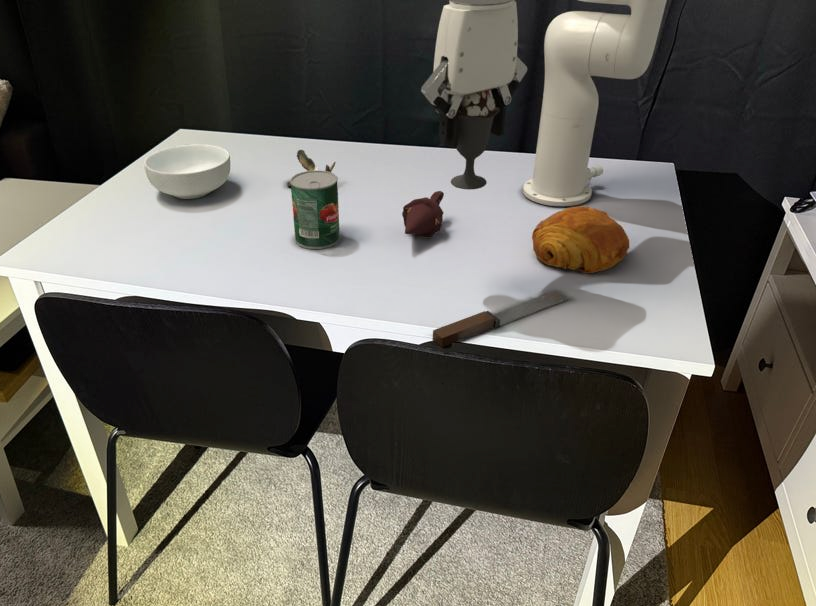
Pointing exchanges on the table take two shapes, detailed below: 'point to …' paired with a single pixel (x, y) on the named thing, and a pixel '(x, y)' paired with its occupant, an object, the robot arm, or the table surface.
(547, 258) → the croissant
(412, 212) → the icecream
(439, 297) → the table surface
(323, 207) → the canned tomato
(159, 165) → the cereal bowl
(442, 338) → the knife
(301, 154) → the eagle figurine
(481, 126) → the sundae
